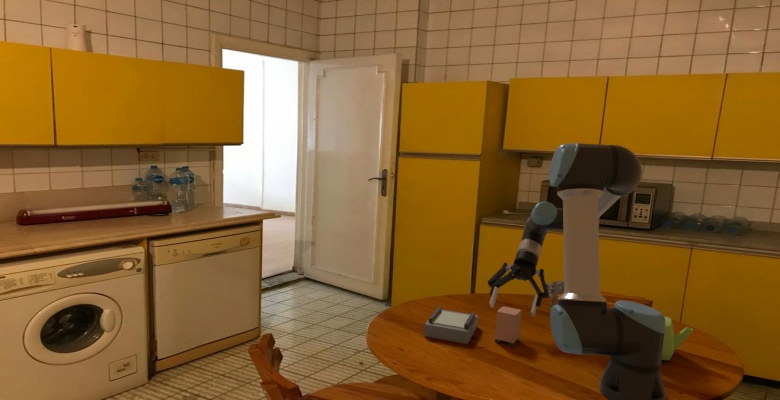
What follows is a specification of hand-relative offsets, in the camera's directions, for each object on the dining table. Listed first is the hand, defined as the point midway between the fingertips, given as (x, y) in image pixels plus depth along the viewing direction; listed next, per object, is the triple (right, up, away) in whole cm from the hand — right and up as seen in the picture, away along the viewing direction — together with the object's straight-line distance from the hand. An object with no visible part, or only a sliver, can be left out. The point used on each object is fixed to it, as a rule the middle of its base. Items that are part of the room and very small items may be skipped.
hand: (511, 310), depth 163 cm
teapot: (+42, -12, -8) cm, 44 cm away
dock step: (-19, -8, +3) cm, 21 cm away
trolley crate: (-2, -9, -3) cm, 10 cm away
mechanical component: (+24, -6, +31) cm, 40 cm away
